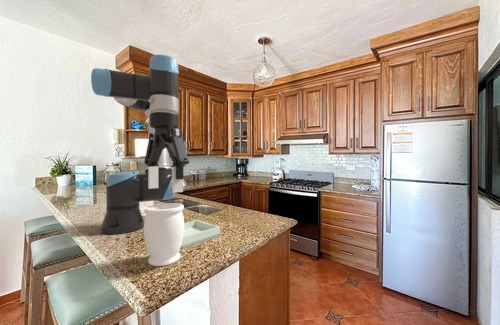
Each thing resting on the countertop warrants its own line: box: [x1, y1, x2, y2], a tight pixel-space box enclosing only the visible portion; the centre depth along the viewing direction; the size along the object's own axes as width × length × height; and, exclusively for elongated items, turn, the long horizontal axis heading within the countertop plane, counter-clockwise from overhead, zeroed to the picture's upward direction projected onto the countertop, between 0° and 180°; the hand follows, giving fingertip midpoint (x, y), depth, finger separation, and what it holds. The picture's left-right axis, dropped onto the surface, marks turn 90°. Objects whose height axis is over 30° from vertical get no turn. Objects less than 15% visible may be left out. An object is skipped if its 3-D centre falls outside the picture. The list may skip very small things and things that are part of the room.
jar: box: [143, 202, 185, 267], centre depth 61 cm, size 11×10×15 cm
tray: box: [180, 219, 221, 250], centre depth 79 cm, size 14×15×4 cm
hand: (164, 190), depth 61 cm, fingers open, 13 cm apart
